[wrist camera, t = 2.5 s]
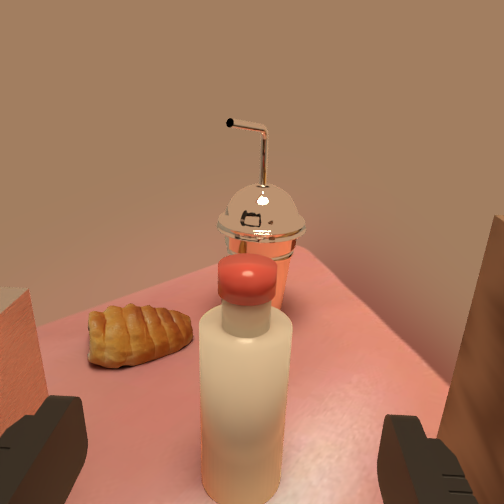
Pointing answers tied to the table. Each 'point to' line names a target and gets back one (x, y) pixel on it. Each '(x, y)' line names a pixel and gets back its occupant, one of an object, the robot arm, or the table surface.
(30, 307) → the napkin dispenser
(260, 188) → the cup with straw
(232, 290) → the sauce bottle
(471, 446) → the stand
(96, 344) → the pastry
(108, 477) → the table surface
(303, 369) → the table surface
